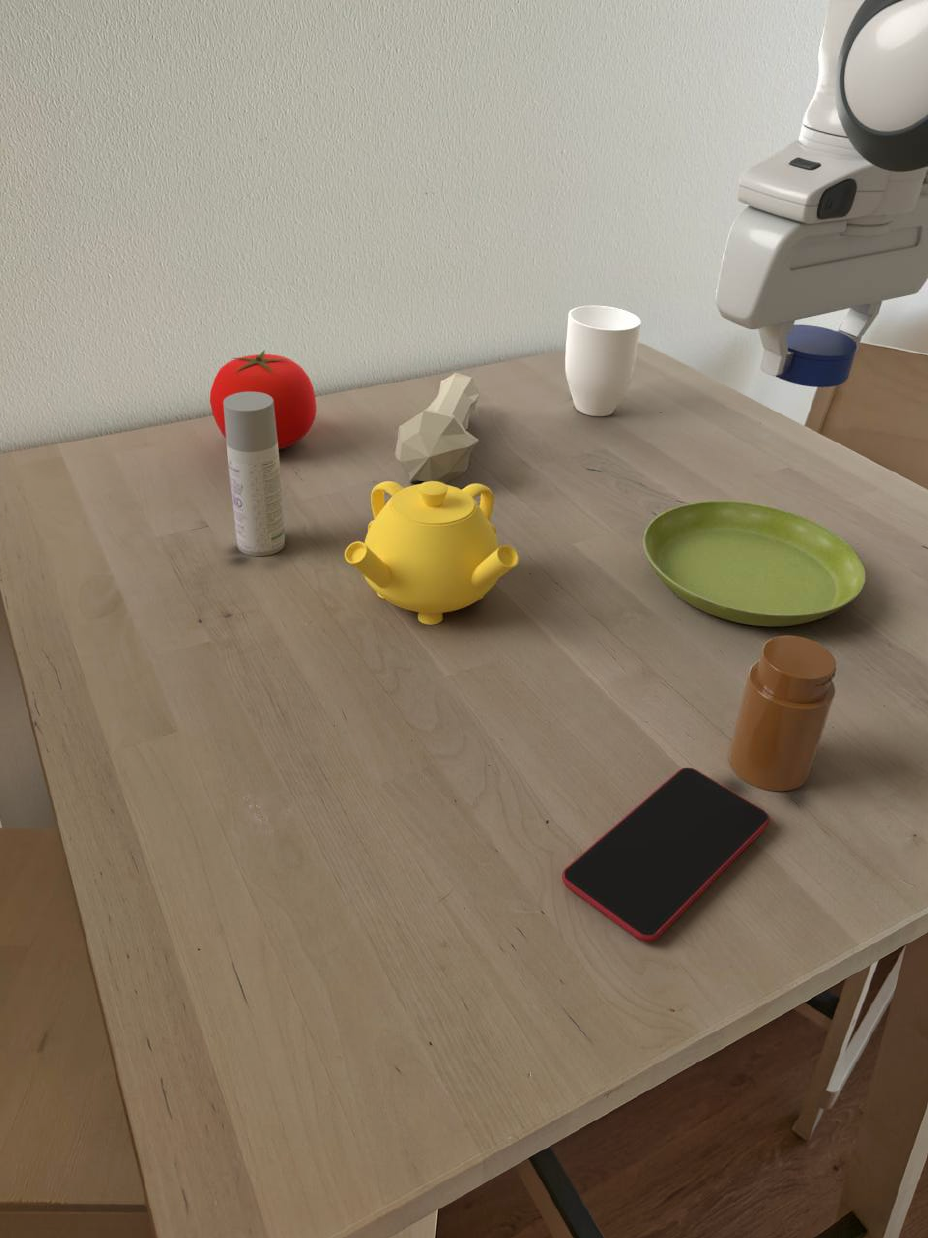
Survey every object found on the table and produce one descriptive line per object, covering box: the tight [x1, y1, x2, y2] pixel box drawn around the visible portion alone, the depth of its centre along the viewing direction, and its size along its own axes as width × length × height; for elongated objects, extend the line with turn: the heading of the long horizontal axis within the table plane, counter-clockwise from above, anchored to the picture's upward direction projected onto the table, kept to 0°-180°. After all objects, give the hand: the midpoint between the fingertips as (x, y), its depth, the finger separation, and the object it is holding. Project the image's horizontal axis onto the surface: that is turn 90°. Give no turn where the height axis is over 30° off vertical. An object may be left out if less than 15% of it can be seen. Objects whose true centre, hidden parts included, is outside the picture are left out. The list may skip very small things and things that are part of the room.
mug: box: [564, 305, 641, 417], centre depth 128 cm, size 12×9×12 cm
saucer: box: [642, 500, 866, 627], centre depth 97 cm, size 21×21×3 cm
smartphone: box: [561, 767, 770, 943], centre depth 68 cm, size 7×1×15 cm
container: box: [223, 392, 286, 557], centre depth 95 cm, size 5×5×15 cm
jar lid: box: [774, 324, 857, 388], centre depth 79 cm, size 6×6×2 cm
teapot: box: [344, 480, 520, 626], centre depth 90 cm, size 14×14×11 cm
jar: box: [727, 635, 837, 792], centre depth 73 cm, size 6×6×10 cm
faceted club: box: [394, 372, 481, 485], centre depth 117 cm, size 9×8×25 cm
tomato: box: [209, 349, 317, 450], centre depth 115 cm, size 12×12×10 cm
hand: (808, 363), depth 79 cm, fingers closed on jar lid, 6 cm apart
